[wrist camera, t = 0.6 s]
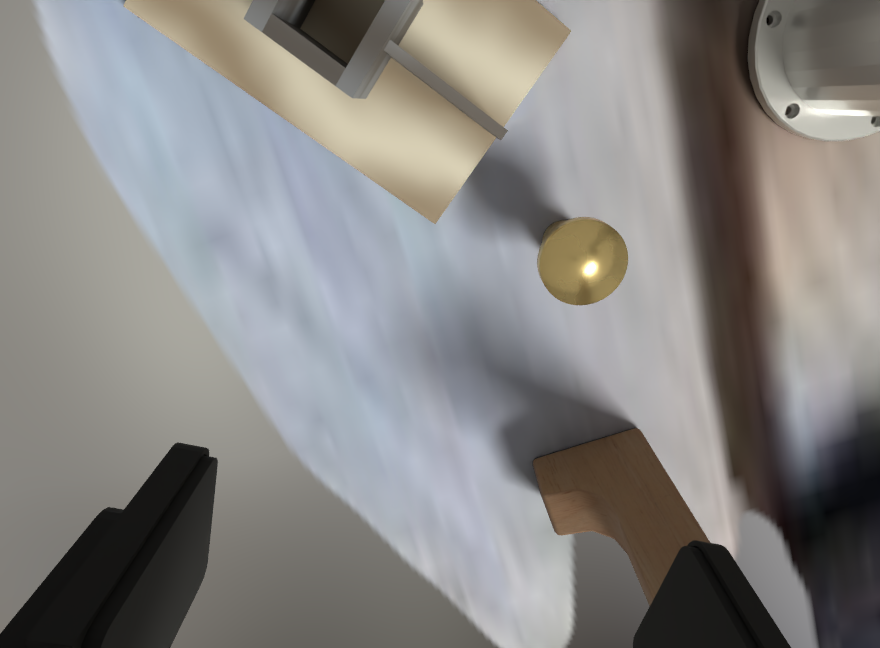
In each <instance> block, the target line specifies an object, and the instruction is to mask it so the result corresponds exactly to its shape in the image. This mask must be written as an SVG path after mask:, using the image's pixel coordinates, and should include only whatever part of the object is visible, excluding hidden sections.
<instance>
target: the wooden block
mask: <svg viewBox="0 0 880 648" xmlns="http://www.w3.org/2000/svg"><path fill="white" fill-rule="evenodd" d="M533 467H534V471H535V474H536V478H537V482H538V486H539V489H540V493H541V496H542V499H543V502H544V504H545V507H546V510H547V512H548V515H549V518H550V520H551V523H552V526H553V528H554V531H555V532H556V533H557V534H558V535H567V534H574V533H581V532H588V531H594V532H597V533H600V534H602V535H605V536H608V537H611V538H613V539H615V540H616V541H617V542H618V543H619V545H620V546H621V547H622V548H623V549H624V551H625V552H626V553H627V554H628V556H629V559H630V561H631V563H632V565H633V568H634V570H635V573H636V575H637V577H638V580H639V582H640V585H641V587H642V589H643V592H644V594H645V596H646V599H647V601H648V603H649V606H650V605H651V603H652V601H653V599H654V598H655V596H656V594H657V592H658V590H659V588H660V586H661V584H662V582H663V580H664V578H665V577H666V575H667V573H668V571H669V569H670V567H671V565H672V563H673V561H674V559H675V557H676V556H677V554H678V552H679V550H680V549H681V547H683V546H687V545H688V544H689V543H690V542H691V541H693V540H697V541H703V542H708V543H710V541H709V540H708V538H707V537H706V535H705V533H704V532H703V530H702V529H701V527H700V525H699V524H698V522H697V520H696V519H695V517H694V516H693V514H692V512H691V511H690V509H689V508H688V506H687V504H686V503H685V501H684V500H683V498H682V496H681V495H680V493H679V492H678V490H677V488H676V487H675V485H674V484H673V482H672V480H671V479H670V477H669V476H668V474H667V472H666V471H665V469H664V468H663V466H662V464H661V463H660V461H659V459H658V458H657V456H656V455H655V453H654V451H653V450H652V448H651V446H650V445H649V443H648V442H647V440H646V438H645V437H644V435H643V433H642V432H641V431H640V430H639V429H638V428H634V429H630V430H627V431H624V432H621V433H617V434H614V435H611V436H608V437H604V438H601V439H598V440H595V441H591V442H588V443H585V444H582V445H578V446H575V447H572V448H568V449H565V450H562V451H559V452H555V453H552V454H549V455H546V456H542V457H539V458H536V459H535V460H534V461H533Z"/></svg>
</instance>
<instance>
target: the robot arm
mask: <svg viewBox="0 0 880 648" xmlns="http://www.w3.org/2000/svg"><path fill="white" fill-rule="evenodd" d="M767 17H768V18H769V23H768V25H767V23H766V18H767ZM748 66H749V74H750V80H751V83H752V86H753V89H754V92H755V95H756V97H757V99H758V101H759V102H760V104H761V106H762V107H763V109H764V111H765V112H766V113H767V114H768V115H769V116H770V117H771V118H772V119H773V120H774V122H775V123H776V124H777V125H779V126H781V127H782V128H784V129H785V130H787V131H789V132H790V133H792V134H795V135H798V136H801V137H804V138H807V139H813V140H820V141H848V140H853V139H858V138H863V137H866V136H869V135H872V134H875V133H877V132H880V0H759V3H758V5H757V8H756V10H755V13H754V16H753V21H752V25H751V30H750V34H749V43H748ZM786 108H787V112H786V114H785V110H786ZM217 463H218V461H217V458H214V457H209V450H208V449H207V448H204V447H199V446H193V445H188V444H183V443H176V444H174V445H173V447H172V448H171V449H170V450H169V452H168V453H167V454H166V456H165V457H164V458H163V459H162V461H161V462H160V463H159V465H158V466H157V467H156V469H155V470H154V471H153V473H152V474H151V475H150V477H149V478H148V479H147V481H146V482H145V483H144V484H143V486H142V487H141V488H140V490H139V491H138V492H137V494H136V495H135V496H134V497H133V499H132V500H131V501H130V503H129V504H128V505H127V507H126V508H125V509H124V510H122V509H116V508H110V507H108V508H106V509H104V510H103V511H102V512H100V513H99V515H97V517H96V518H95V519H94V520H93V521H92V523H91V524H90V525H89V526H88V528H87V529H86V530H85V531H84V532H83V534H82V535H81V536H80V537H79V538H78V540H77V541H76V542H75V543H74V545H73V546H72V547H71V548H70V549H69V551H68V552H67V553H66V554H65V555H64V557H63V558H62V559H61V561H60V562H59V563H58V564H57V565H56V567H55V568H54V569H53V570H52V571H51V573H50V574H49V575H48V576H47V577H46V579H45V580H44V581H43V582H42V584H41V585H40V586H39V587H38V589H37V590H36V591H35V592H34V593H33V595H32V596H31V597H30V598H29V600H28V601H27V602H26V603H25V604H24V606H23V607H22V608H21V609H20V610H19V612H18V613H17V614H16V615H15V617H14V618H13V619H12V620H11V621H10V623H9V624H8V625H7V626H6V628H5V629H4V630H3V631H2V633H1V634H0V648H170V647H171V644H172V643H173V641H174V639H175V637H176V635H177V632H178V630H179V628H180V626H181V624H182V622H183V620H184V618H185V616H186V614H187V612H188V610H189V608H190V606H191V604H192V602H193V600H194V598H195V595H196V593H197V591H198V589H199V587H200V585H201V583H202V581H203V578H204V575H205V572H206V568H207V563H208V553H209V544H210V534H211V524H212V514H213V504H214V494H215V484H216V475H217ZM633 648H791V647H790V645H789V644H788V643H787V641H786V639H785V638H784V636H783V635H782V633H781V632H780V630H779V628H778V627H777V625H776V624H775V622H774V621H773V619H772V618H771V616H770V614H769V613H768V611H767V610H766V608H765V607H764V605H763V604H762V602H761V601H760V599H759V597H758V596H757V594H756V593H755V591H754V590H753V588H752V587H751V585H750V584H749V582H748V581H747V579H746V577H745V576H744V574H743V573H742V571H741V570H740V568H739V567H738V565H737V564H736V562H735V560H734V559H733V557H732V556H731V554H730V553H729V551H728V550H727V549H726V548H725V547H724V546H722V545H718V544H713V543H708V542H703V541H697V540H693V541H691V542H690V543H689V544H688V545H687V546H683V547H681V549H680V550H679V552H678V554H677V556H676V557H675V559H674V561H673V563H672V565H671V567H670V569H669V571H668V573H667V575H666V577H665V578H664V580H663V582H662V584H661V586H660V588H659V590H658V592H657V594H656V596H655V598H654V599H653V601H652V603H651V605H650V607H649V609H648V611H647V613H646V615H645V617H644V619H643V621H642V622H641V624H640V626H639V628H638V630H637V632H636V634H635V637H634V641H633Z"/></svg>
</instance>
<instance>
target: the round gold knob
mask: <svg viewBox="0 0 880 648" xmlns="http://www.w3.org/2000/svg"><path fill="white" fill-rule="evenodd" d="M627 265H628V252H627V248H626V245H625V242H624V240H623V239H622V237H621V236H620V235H619V233H618V232H617V231H616V230H615V229H613V228H612V227H611V226H609V225H608V224H606V223H605V222H603V221H601V220H598V219H595V218H590V217H578V218H573V219H570V220H560V221H557V222H555V223H553V224H551V225H550V226H549V227H548V228H547V229H546V231H545V232H544V235H543V238H542V244H541V247H540V249H539V253H538V259H537V267H538V272H539V275H540V278H541V280H542V282H543V283H544V285H545V287H546V288H547V290H548V291H549V292H550V293H551V294H552V295H553V296H554V297H555V298H557V299H558V300H560V301H562V302H565V303H568V304H572V305H588V304H592V303H595V302H598V301H600V300H602V299H604V298H605V297H607V296H609V295H610V294H611V293H612V292H613V291H614V290H615V289H616V288H617V287H618V286H619V284H620V283H621V281H622V280H623V278H624V275H625V273H626V270H627Z"/></svg>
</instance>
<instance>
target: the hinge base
mask: <svg viewBox="0 0 880 648" xmlns="http://www.w3.org/2000/svg"><path fill="white" fill-rule="evenodd" d="M124 7H125V8H127V9H128V10H129V11H131V12H132V13H134V14H135V15H137V16H138V17H139V18H141V19H142V20H144V21H145V22H147V23H148V24H149V25H151V26H152V27H154V28H155V29H157V30H158V31H159V32H161V33H162V34H164V35H165V36H167V37H168V38H169V39H171V40H172V41H174V42H175V43H177V44H178V45H179V46H181V47H182V48H184V49H185V50H187V51H188V52H189V53H191V54H192V55H194V56H195V57H197V58H198V59H199V60H201V61H202V62H204V63H205V64H207V65H208V66H209V67H211V68H212V69H214V70H215V71H217V72H218V73H219V74H221V75H222V76H224V77H225V78H227V79H228V80H230V81H231V82H232V83H234V84H235V85H237V86H238V87H240V88H241V89H242V90H244V91H245V92H247V93H248V94H250V95H251V96H252V97H254V98H255V99H257V100H258V101H260V102H261V103H262V104H264V105H265V106H267V107H268V108H270V109H271V110H272V111H274V112H275V113H277V114H278V115H280V116H281V117H282V118H284V119H285V120H287V121H288V122H290V123H291V124H292V125H294V126H295V127H297V128H298V129H300V130H301V131H302V132H304V133H305V134H307V135H308V136H310V137H311V138H312V139H314V140H315V141H317V142H318V143H320V144H321V145H322V146H324V147H325V148H327V149H328V150H330V151H331V152H332V153H334V154H335V155H337V156H338V157H340V158H341V159H342V160H344V161H345V162H347V163H348V164H350V165H351V166H353V167H354V168H355V169H357V170H358V171H360V172H361V173H363V174H364V175H365V176H367V177H368V178H370V179H371V180H373V181H374V182H375V183H377V184H378V185H380V186H381V187H383V188H384V189H385V190H387V191H388V192H390V193H391V194H393V195H394V196H395V197H397V198H398V199H400V200H401V201H403V202H404V203H405V204H407V205H408V206H410V207H411V208H413V209H414V210H415V211H417V212H418V213H420V214H421V215H423V216H424V217H425V218H427V219H428V220H430V221H431V222H433V223H434V224H436V222H437V221H438V219H439V218H440V217H441V215H442V214H443V212H444V211H445V209H446V208H447V207H448V205H449V204H450V202H451V201H452V200H453V198H454V197H455V195H456V194H457V192H458V191H459V190H460V188H461V187H462V185H463V184H464V183H465V181H466V180H467V178H468V177H469V175H470V174H471V173H472V171H473V170H474V168H475V167H476V165H477V164H478V163H479V161H480V160H481V158H482V157H483V156H484V154H485V153H486V151H487V150H488V148H489V147H490V146H491V144H492V143H493V141H494V140H495V139H496V137H497V138H498V139H500V140H501V139H502V138H503V137H504V135H505V134H506V132H507V131H508V130H506V129H505V128H504V126H505V124H506V123H507V122H508V120H509V119H510V117H511V116H512V114H513V113H514V112H515V110H516V109H517V107H518V106H519V105H520V103H521V102H522V100H523V99H524V97H525V96H526V95H527V93H528V92H529V90H530V89H531V88H532V86H533V85H534V83H535V82H536V80H537V79H538V78H539V76H540V75H541V73H542V72H543V70H544V69H545V68H546V66H547V65H548V63H549V62H550V61H551V59H552V58H553V56H554V55H555V53H556V52H557V51H558V49H559V48H560V46H561V45H562V44H563V42H564V41H565V39H566V38H567V36H568V35H569V34H570V32H571V30H570V29H569V28H567V27H566V26H565V25H564V24H563V23H561V22H560V21H559V20H558V19H557V18H556V17H554V16H553V15H552V14H551V13H550V12H549V11H547V10H546V9H545V8H544V7H543V6H542V5H540V4H539V3H538V2H537V1H536V0H126V1H125V4H124Z"/></svg>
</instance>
